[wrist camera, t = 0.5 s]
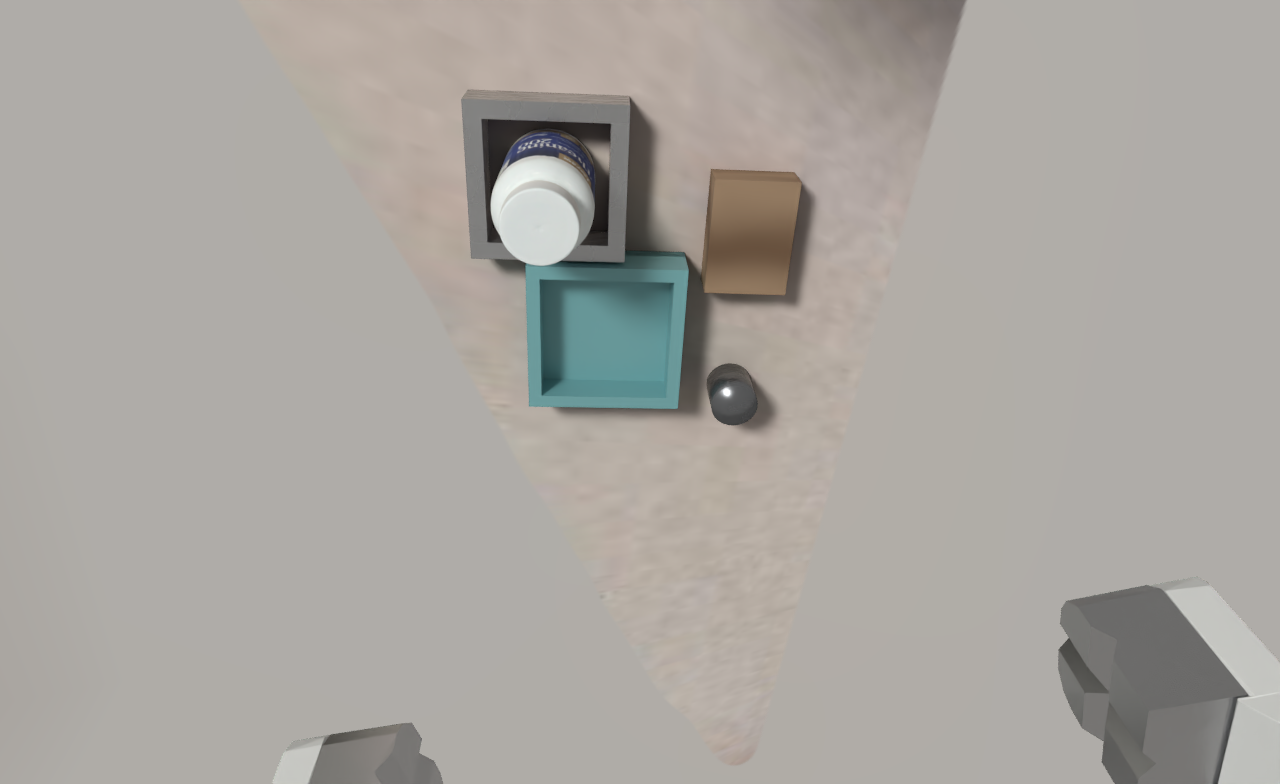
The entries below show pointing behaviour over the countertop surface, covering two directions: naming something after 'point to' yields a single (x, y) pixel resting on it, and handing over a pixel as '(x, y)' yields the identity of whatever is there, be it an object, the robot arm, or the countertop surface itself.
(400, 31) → the countertop surface
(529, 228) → the pill bottle
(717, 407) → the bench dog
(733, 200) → the tan cardboard-like brick
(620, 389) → the tray
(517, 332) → the countertop surface
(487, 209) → the collar
